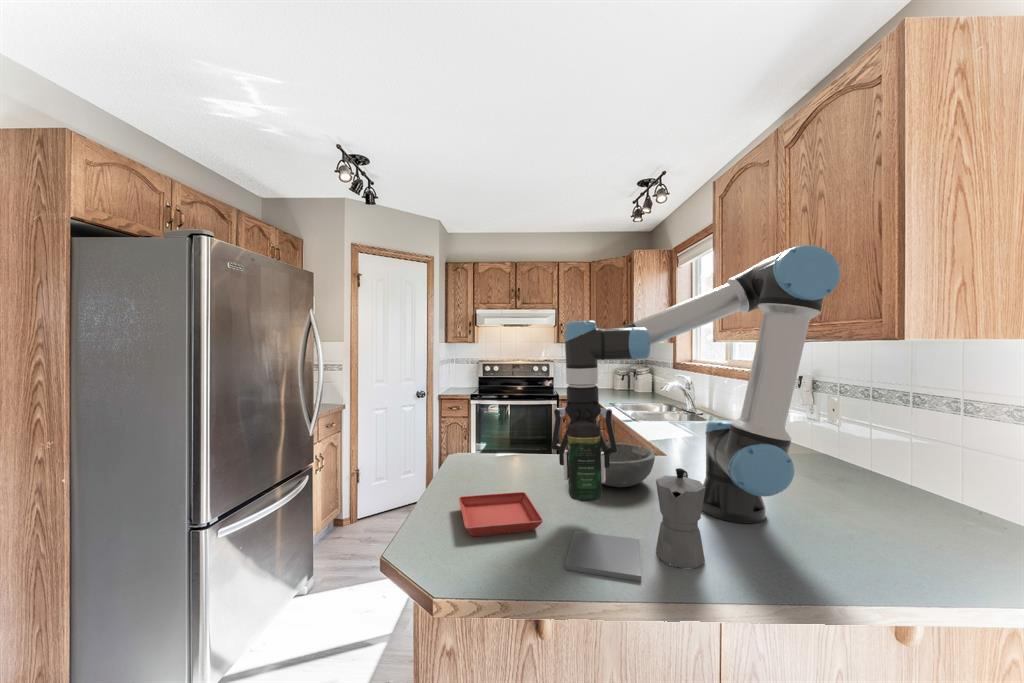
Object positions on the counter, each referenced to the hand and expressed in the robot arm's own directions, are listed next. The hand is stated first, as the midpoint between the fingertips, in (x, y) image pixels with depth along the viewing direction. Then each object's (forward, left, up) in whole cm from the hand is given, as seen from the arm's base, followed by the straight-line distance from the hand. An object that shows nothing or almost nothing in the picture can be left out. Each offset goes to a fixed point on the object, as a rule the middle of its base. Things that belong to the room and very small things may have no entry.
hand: (584, 479), depth 98 cm
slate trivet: (-5, +14, -10) cm, 18 cm away
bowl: (-6, -30, -11) cm, 32 cm away
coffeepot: (-20, +9, -11) cm, 25 cm away
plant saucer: (+21, +4, -11) cm, 24 cm away
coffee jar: (0, 0, -4) cm, 4 cm away
